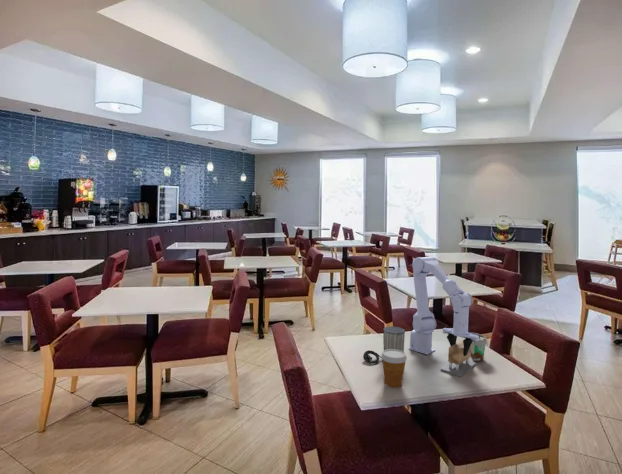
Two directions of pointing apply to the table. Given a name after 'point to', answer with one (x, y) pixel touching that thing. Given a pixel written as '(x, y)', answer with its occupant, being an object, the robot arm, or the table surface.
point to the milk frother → (388, 342)
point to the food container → (478, 348)
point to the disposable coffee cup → (393, 367)
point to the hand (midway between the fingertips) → (459, 353)
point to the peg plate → (458, 367)
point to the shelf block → (458, 353)
